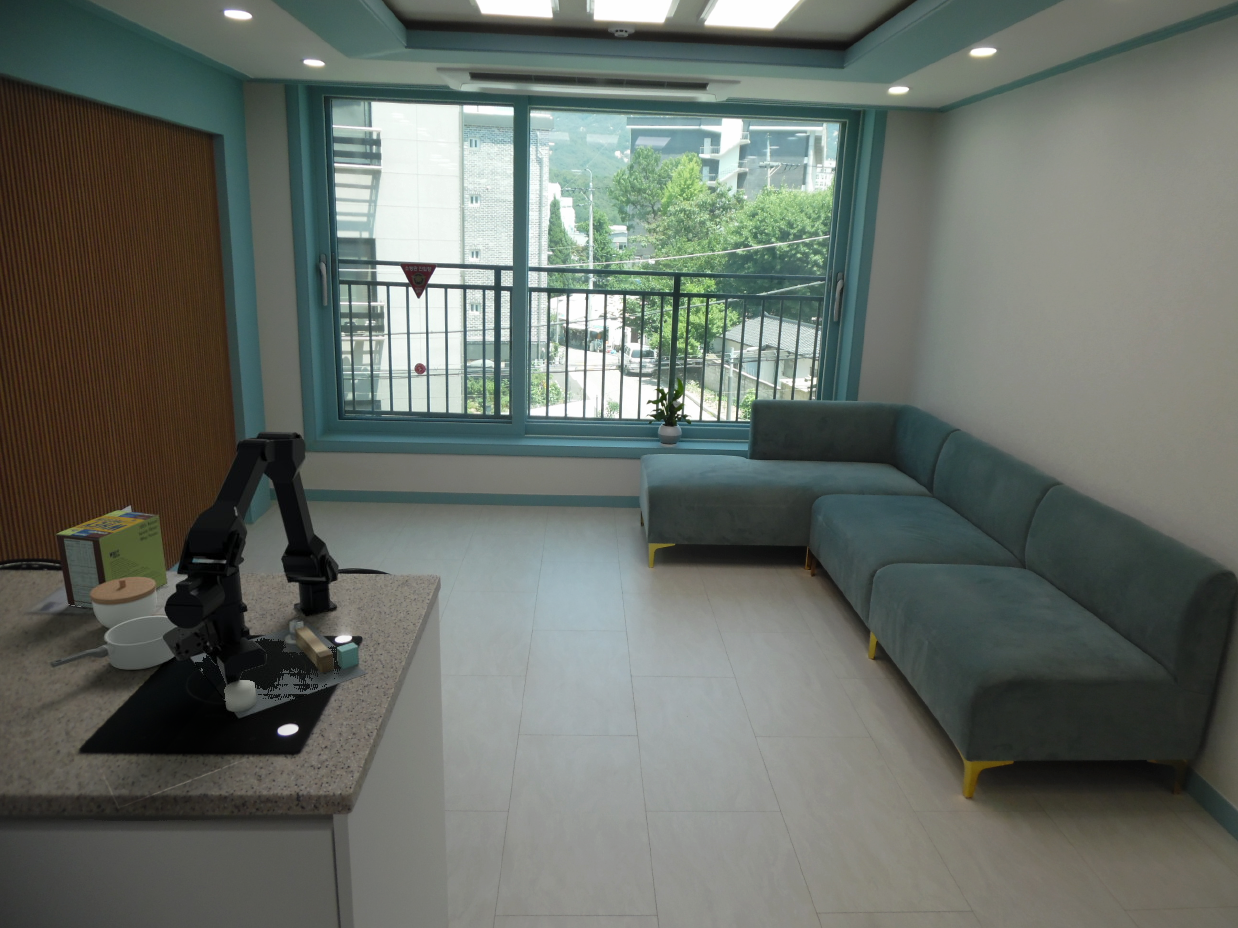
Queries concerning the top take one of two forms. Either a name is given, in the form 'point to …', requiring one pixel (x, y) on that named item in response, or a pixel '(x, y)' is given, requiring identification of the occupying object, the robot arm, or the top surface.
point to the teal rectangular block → (347, 655)
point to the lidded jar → (124, 600)
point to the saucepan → (132, 644)
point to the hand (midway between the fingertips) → (231, 688)
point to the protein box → (110, 553)
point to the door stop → (240, 695)
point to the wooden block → (314, 649)
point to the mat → (289, 689)
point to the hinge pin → (293, 630)
